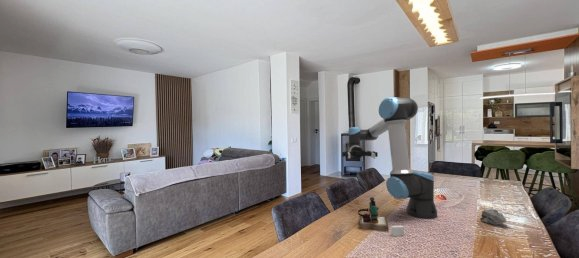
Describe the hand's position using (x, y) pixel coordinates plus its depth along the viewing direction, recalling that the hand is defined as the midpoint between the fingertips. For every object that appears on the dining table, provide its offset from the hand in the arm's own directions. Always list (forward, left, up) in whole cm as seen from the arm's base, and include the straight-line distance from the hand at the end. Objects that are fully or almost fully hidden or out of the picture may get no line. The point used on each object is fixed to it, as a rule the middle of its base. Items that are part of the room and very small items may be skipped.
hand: (362, 156), depth 140 cm
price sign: (-15, +25, -32) cm, 43 cm away
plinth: (-5, +16, -32) cm, 36 cm away
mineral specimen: (-62, -1, -32) cm, 70 cm away
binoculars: (-3, +17, -30) cm, 34 cm away
